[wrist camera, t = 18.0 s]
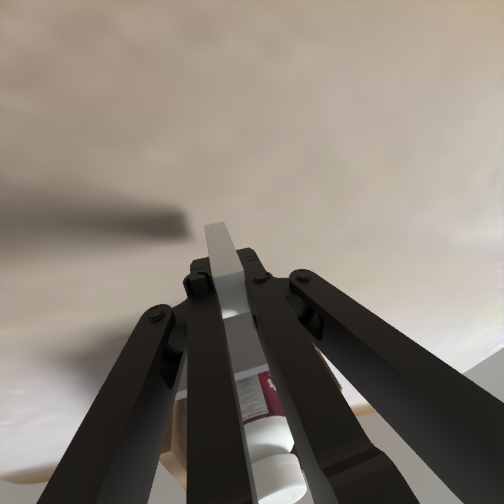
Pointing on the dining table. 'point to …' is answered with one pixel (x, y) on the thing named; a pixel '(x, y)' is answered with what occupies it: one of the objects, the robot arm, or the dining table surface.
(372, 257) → the dining table surface
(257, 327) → the robot arm
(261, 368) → the tray
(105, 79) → the dining table surface
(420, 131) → the dining table surface
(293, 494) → the pill bottle
